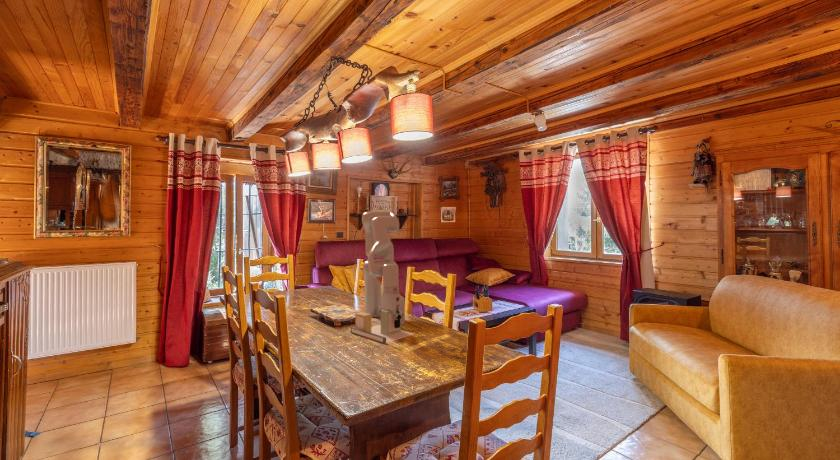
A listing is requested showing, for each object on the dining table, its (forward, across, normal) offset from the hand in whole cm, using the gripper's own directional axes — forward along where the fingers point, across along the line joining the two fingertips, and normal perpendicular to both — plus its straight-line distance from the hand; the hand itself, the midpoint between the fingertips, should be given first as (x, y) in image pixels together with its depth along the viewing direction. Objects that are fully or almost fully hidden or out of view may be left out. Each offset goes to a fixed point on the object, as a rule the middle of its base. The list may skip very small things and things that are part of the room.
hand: (390, 325), depth 188 cm
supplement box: (+5, +12, -13) cm, 18 cm away
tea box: (+3, 0, 0) cm, 3 cm away
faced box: (+3, +10, +9) cm, 13 cm away
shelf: (+5, +2, +3) cm, 6 cm away
